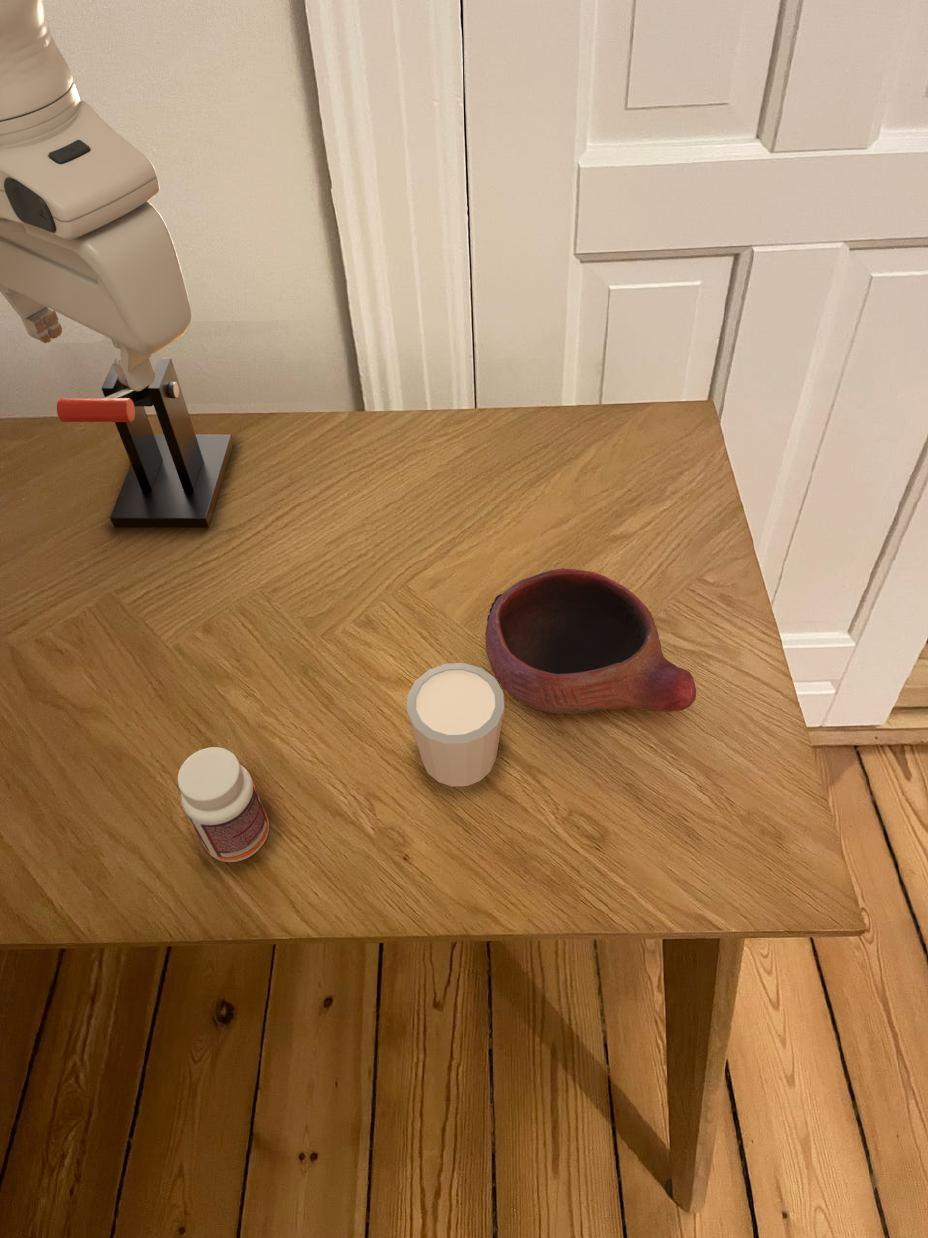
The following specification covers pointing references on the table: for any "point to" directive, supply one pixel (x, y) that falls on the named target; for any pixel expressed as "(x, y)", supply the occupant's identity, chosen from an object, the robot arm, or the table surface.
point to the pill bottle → (222, 804)
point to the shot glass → (456, 722)
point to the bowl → (581, 647)
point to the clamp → (167, 460)
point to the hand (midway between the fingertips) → (91, 359)
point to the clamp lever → (104, 407)
